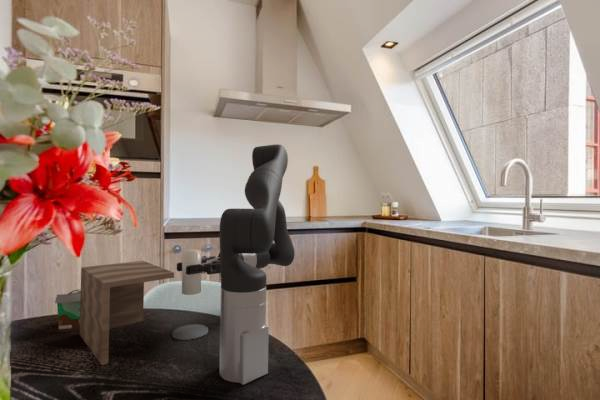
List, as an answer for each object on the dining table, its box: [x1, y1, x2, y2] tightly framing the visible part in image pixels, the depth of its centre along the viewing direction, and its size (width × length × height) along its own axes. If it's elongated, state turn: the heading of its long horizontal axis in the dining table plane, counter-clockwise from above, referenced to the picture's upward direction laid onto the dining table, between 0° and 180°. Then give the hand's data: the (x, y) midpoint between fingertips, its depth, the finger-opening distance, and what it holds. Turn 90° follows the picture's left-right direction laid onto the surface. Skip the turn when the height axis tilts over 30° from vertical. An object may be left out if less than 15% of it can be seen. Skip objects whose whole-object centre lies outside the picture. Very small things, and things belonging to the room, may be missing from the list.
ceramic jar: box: [181, 248, 202, 296], centre depth 84 cm, size 5×5×11 cm
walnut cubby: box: [79, 260, 175, 366], centre depth 79 cm, size 21×15×17 cm
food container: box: [54, 288, 81, 333], centre depth 87 cm, size 12×6×10 cm, turn 179°
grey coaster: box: [171, 324, 209, 341], centre depth 83 cm, size 9×9×1 cm
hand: (182, 268), depth 82 cm, fingers closed on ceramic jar, 4 cm apart
